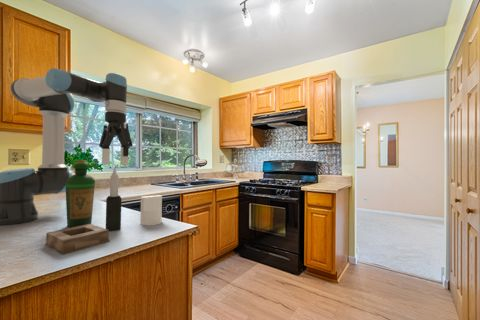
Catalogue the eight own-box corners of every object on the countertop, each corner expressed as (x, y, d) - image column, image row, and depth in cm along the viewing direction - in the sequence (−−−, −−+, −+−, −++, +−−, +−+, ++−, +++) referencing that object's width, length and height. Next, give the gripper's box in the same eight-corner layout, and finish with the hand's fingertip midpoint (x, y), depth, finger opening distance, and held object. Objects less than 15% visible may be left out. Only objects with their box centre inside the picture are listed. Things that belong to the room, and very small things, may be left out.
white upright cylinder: (156, 219, 108) (157, 194, 108) (164, 222, 102) (165, 196, 102) (137, 222, 102) (137, 196, 102) (145, 226, 95) (145, 198, 95)
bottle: (78, 229, 89) (80, 160, 90) (57, 227, 91) (58, 159, 92) (100, 222, 100) (101, 160, 100) (80, 220, 102) (82, 159, 102)
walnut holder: (44, 245, 73) (45, 232, 73) (90, 234, 84) (90, 223, 84) (62, 254, 66) (62, 241, 66) (109, 241, 77) (109, 229, 77)
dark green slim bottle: (105, 228, 92) (106, 167, 92) (119, 226, 95) (120, 167, 95) (106, 231, 87) (108, 168, 88) (121, 229, 90) (122, 168, 91)
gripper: (90, 114, 95) (89, 163, 94) (124, 107, 81) (123, 165, 81) (108, 117, 101) (107, 163, 101) (142, 111, 88) (141, 165, 88)
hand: (114, 164), depth 91 cm, fingers open, 13 cm apart
